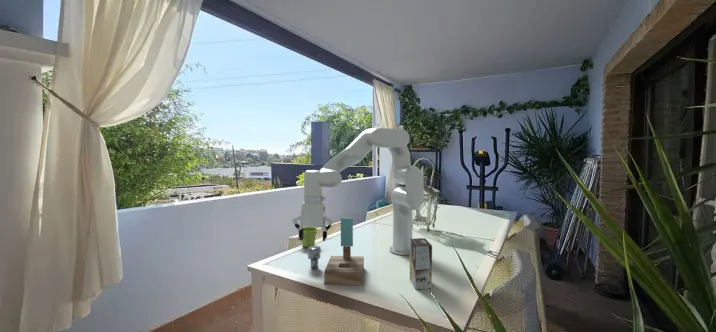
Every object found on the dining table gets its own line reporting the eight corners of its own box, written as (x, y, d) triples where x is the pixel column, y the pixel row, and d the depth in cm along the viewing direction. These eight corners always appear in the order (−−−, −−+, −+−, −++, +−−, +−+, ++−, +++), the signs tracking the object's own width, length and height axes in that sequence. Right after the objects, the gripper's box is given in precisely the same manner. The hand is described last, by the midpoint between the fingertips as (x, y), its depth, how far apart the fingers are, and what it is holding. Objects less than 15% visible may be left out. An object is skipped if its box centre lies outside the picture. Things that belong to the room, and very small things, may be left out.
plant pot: (312, 241, 165) (311, 225, 165) (321, 246, 158) (321, 229, 157) (296, 245, 160) (296, 228, 159) (305, 250, 152) (304, 233, 152)
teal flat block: (340, 246, 128) (341, 245, 129) (352, 246, 128) (352, 245, 129) (340, 218, 127) (340, 217, 128) (352, 218, 127) (352, 217, 128)
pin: (321, 265, 133) (321, 246, 132) (319, 270, 128) (319, 250, 127) (309, 265, 133) (309, 245, 132) (307, 270, 128) (306, 250, 127)
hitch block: (331, 267, 131) (330, 245, 130) (363, 268, 130) (363, 246, 129) (324, 284, 115) (324, 259, 114) (361, 285, 114) (361, 260, 113)
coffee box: (432, 288, 111) (433, 245, 110) (415, 289, 111) (415, 246, 109) (424, 277, 120) (425, 237, 119) (408, 278, 120) (409, 238, 119)
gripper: (334, 198, 131) (334, 237, 132) (295, 197, 132) (295, 236, 134) (332, 201, 124) (331, 243, 125) (290, 200, 125) (290, 241, 126)
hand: (312, 239), depth 129 cm, fingers open, 9 cm apart
